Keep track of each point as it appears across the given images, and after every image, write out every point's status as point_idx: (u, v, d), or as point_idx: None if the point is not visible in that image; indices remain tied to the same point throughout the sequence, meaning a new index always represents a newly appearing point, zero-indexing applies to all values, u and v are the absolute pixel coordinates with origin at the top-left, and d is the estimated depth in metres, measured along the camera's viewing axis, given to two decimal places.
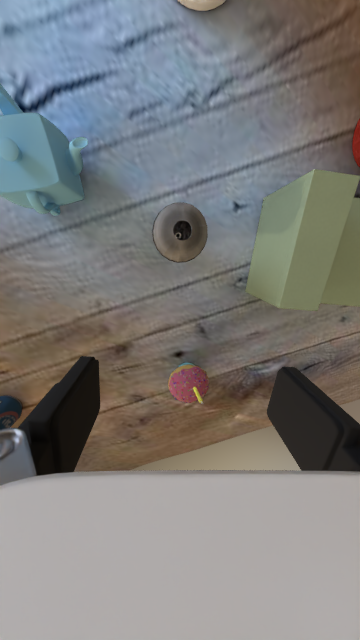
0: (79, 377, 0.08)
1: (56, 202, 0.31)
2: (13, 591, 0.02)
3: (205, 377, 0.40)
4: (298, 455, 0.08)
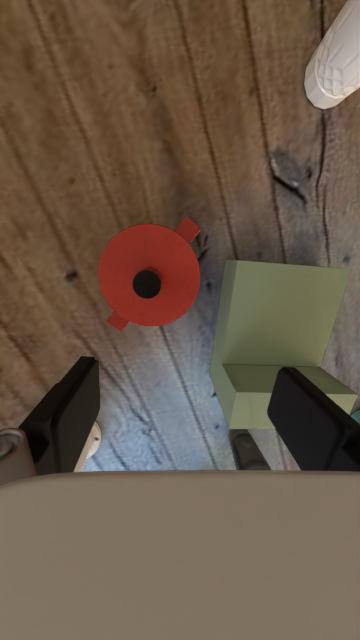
0: (79, 377, 0.08)
1: None
2: (13, 591, 0.02)
3: None
4: (298, 455, 0.08)
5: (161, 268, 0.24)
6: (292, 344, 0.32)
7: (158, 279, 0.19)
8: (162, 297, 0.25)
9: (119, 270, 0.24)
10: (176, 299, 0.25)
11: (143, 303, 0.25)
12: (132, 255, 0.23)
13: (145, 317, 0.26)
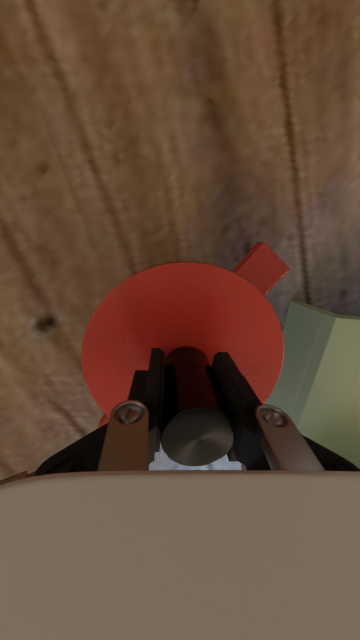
0: (160, 364, 0.09)
1: None
2: (13, 591, 0.02)
3: None
4: None
5: (209, 347, 0.12)
6: None
7: (230, 427, 0.07)
8: None
9: (124, 352, 0.12)
10: None
11: None
12: (152, 324, 0.11)
13: None
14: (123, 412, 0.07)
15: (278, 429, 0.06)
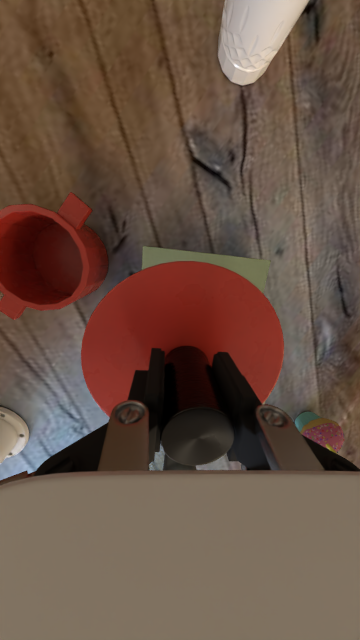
0: (160, 364, 0.09)
1: None
2: (13, 591, 0.02)
3: (317, 429, 0.38)
4: None
5: (209, 347, 0.12)
6: None
7: (230, 426, 0.07)
8: None
9: (124, 351, 0.12)
10: None
11: None
12: (151, 323, 0.11)
13: None
14: (123, 412, 0.07)
15: (278, 429, 0.06)
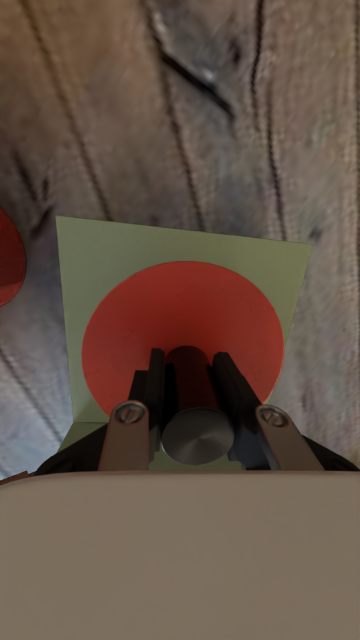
0: (160, 364, 0.09)
1: None
2: (13, 591, 0.02)
3: None
4: None
5: (209, 347, 0.12)
6: None
7: (230, 426, 0.07)
8: None
9: (124, 351, 0.12)
10: None
11: None
12: (152, 323, 0.11)
13: None
14: (123, 412, 0.07)
15: (278, 429, 0.06)
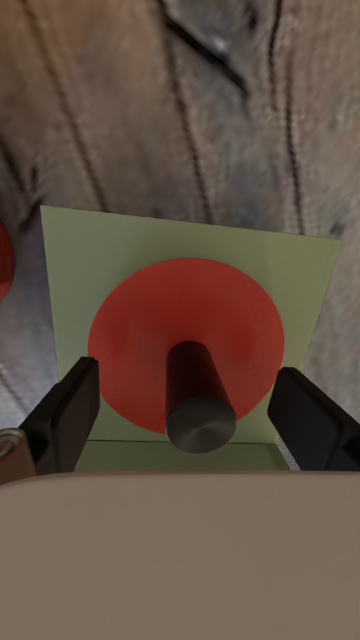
0: (79, 377, 0.08)
1: None
2: (13, 591, 0.02)
3: None
4: (298, 455, 0.08)
5: (211, 342, 0.12)
6: None
7: (232, 415, 0.08)
8: None
9: (129, 346, 0.12)
10: (233, 393, 0.13)
11: None
12: (156, 319, 0.11)
13: None
14: None
15: None
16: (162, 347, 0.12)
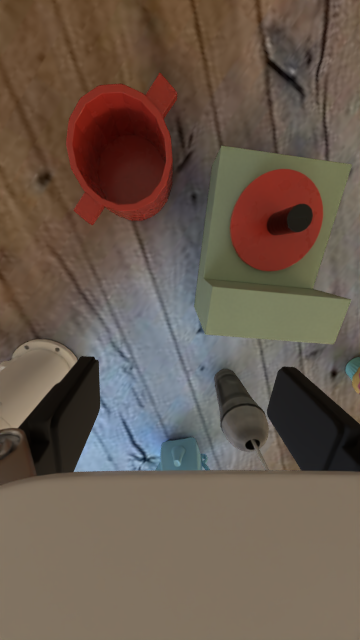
0: (79, 377, 0.08)
1: (200, 459, 0.45)
2: (13, 591, 0.02)
3: None
4: (298, 455, 0.08)
5: None
6: None
7: (311, 213, 0.21)
8: (284, 242, 0.27)
9: (251, 214, 0.26)
10: (296, 245, 0.27)
11: (265, 247, 0.27)
12: (265, 199, 0.25)
13: (264, 261, 0.28)
14: None
15: None
16: (266, 215, 0.26)
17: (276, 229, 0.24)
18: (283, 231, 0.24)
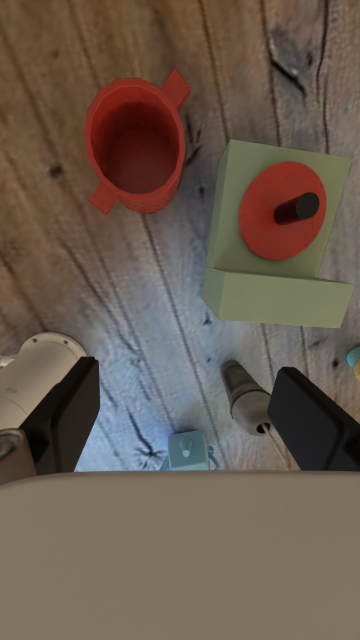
0: (79, 377, 0.08)
1: (208, 451, 0.45)
2: (13, 591, 0.02)
3: None
4: (298, 455, 0.08)
5: None
6: None
7: (318, 201, 0.23)
8: (290, 232, 0.28)
9: (259, 204, 0.27)
10: (301, 234, 0.29)
11: (272, 237, 0.28)
12: (273, 190, 0.27)
13: (271, 250, 0.29)
14: None
15: None
16: (273, 206, 0.27)
17: (283, 218, 0.26)
18: (291, 219, 0.25)
